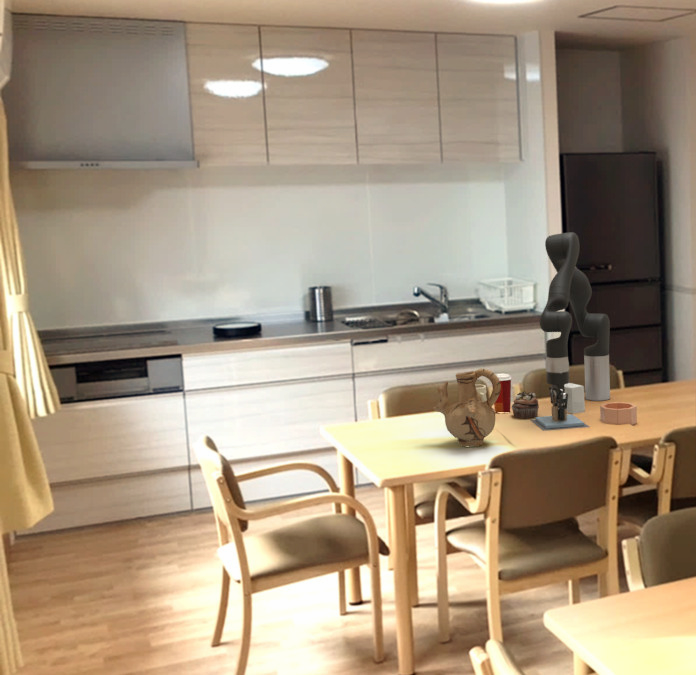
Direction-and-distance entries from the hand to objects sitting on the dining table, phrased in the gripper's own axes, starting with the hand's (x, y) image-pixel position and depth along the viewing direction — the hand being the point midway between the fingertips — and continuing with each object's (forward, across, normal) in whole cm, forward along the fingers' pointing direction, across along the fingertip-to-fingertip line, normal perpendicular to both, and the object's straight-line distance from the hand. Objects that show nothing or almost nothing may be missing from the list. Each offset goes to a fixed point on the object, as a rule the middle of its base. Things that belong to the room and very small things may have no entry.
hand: (559, 418), depth 294 cm
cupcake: (+3, -14, -8) cm, 16 cm away
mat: (+3, 0, 0) cm, 3 cm away
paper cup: (+3, -28, -13) cm, 31 cm away
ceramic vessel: (+3, +13, -34) cm, 37 cm away
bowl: (+3, +2, +20) cm, 20 cm away
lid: (+1, 0, 0) cm, 1 cm away
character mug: (+3, -16, -25) cm, 30 cm away
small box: (+3, -17, +10) cm, 20 cm away
